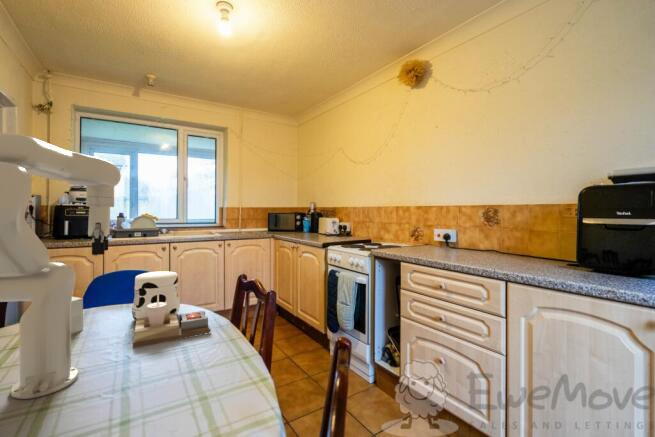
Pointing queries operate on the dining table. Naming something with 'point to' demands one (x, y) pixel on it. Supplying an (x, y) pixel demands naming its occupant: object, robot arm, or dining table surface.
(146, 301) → the milk container
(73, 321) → the skincare box
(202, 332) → the wooden tray with button
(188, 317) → the button
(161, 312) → the smoothie
